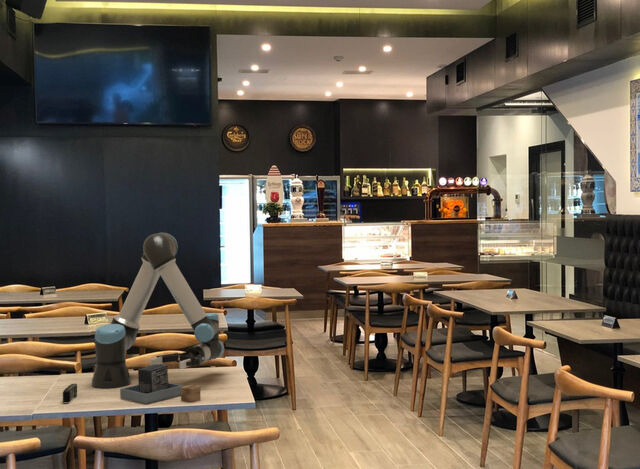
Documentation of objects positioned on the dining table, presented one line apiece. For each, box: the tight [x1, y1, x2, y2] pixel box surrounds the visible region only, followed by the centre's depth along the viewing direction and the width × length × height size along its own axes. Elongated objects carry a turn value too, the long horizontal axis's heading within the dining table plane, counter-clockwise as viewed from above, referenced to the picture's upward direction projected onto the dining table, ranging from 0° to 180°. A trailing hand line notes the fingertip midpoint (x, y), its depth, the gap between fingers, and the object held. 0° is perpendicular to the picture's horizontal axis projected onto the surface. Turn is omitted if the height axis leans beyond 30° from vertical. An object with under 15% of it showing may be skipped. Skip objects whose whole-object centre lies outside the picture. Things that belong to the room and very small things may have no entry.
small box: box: [137, 364, 169, 394], centre depth 286 cm, size 11×6×10 cm, turn 156°
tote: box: [119, 382, 184, 405], centre depth 285 cm, size 15×17×4 cm
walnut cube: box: [180, 384, 202, 403], centre depth 279 cm, size 5×5×5 cm
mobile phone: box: [62, 383, 78, 403], centre depth 285 cm, size 5×3×15 cm
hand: (165, 364), depth 293 cm, fingers open, 13 cm apart
